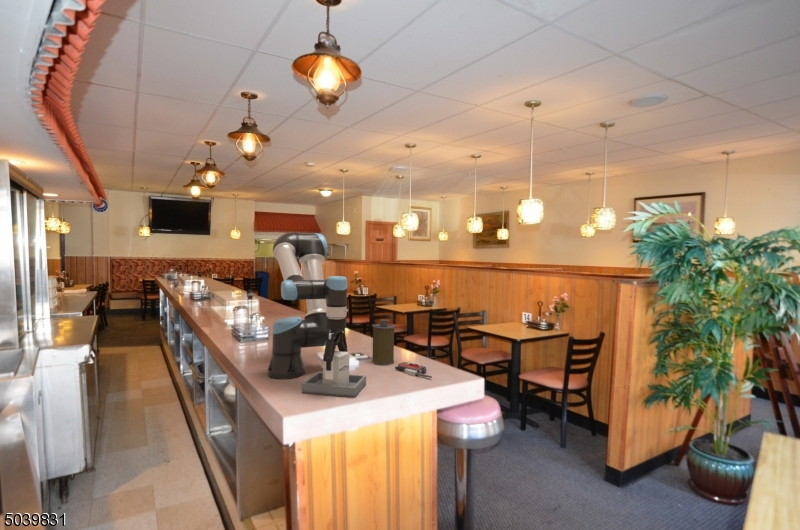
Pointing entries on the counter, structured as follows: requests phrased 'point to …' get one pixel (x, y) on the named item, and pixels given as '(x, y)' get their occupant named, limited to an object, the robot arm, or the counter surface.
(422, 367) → the red grey elongated piece
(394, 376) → the counter surface
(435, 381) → the counter surface
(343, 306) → the robot arm
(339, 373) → the supplement box
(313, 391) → the grey tray
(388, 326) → the canister
